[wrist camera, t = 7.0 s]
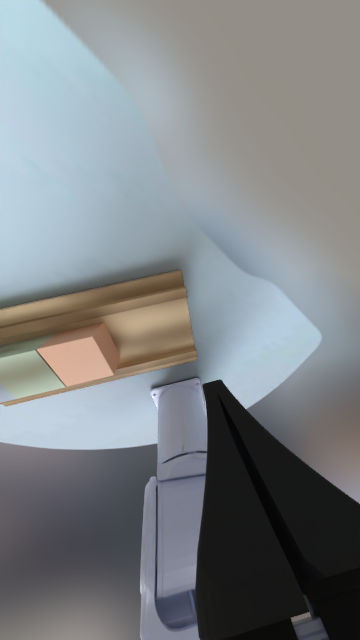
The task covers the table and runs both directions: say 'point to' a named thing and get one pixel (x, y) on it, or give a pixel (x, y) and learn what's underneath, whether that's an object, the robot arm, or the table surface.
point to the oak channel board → (90, 308)
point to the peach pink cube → (81, 354)
